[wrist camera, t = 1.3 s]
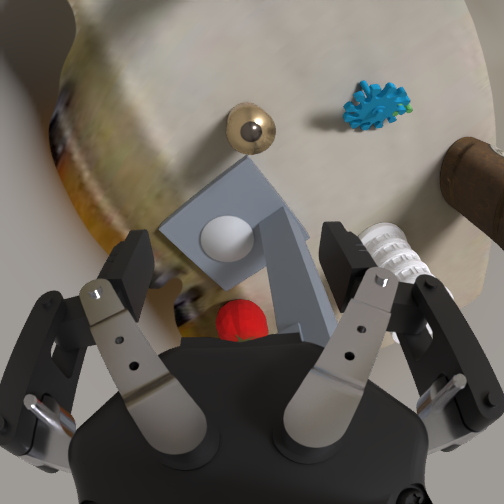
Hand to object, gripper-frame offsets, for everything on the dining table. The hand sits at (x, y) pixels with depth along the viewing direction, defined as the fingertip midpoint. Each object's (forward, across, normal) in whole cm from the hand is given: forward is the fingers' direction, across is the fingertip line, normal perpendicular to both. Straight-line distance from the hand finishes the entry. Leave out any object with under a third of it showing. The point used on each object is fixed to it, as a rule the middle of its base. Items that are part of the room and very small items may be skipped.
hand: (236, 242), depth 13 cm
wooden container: (+28, +43, -4) cm, 52 cm away
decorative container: (+28, +26, -20) cm, 43 cm away
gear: (+28, +20, +5) cm, 35 cm away
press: (+28, +2, -18) cm, 33 cm away
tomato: (+28, 0, -33) cm, 43 cm away
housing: (+28, +2, +2) cm, 28 cm away
